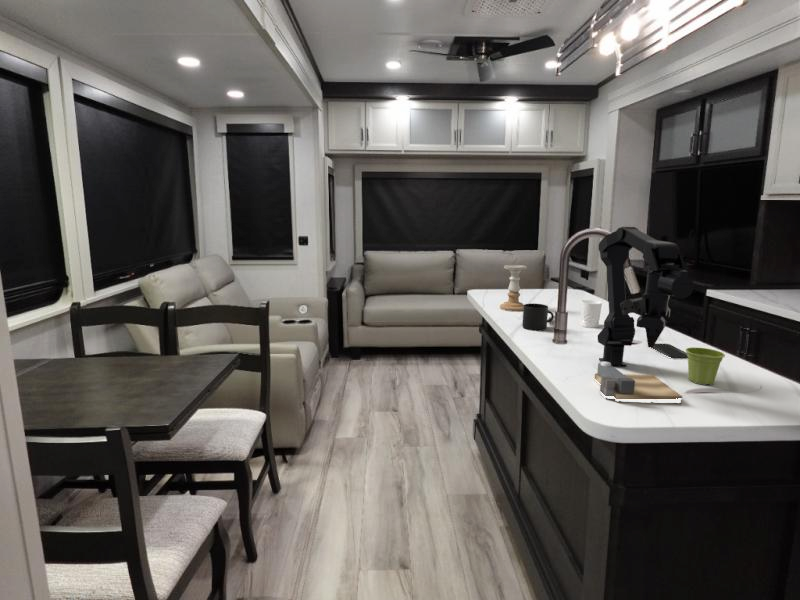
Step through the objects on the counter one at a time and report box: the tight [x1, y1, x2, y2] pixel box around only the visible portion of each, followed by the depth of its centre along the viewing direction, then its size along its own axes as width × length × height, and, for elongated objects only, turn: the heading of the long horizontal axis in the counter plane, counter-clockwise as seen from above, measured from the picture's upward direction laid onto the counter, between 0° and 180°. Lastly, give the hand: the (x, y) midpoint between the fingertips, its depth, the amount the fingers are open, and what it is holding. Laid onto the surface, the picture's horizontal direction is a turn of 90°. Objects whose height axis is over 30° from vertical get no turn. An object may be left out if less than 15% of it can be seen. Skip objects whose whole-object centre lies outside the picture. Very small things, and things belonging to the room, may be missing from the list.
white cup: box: [580, 299, 603, 329], centre depth 203 cm, size 8×8×10 cm
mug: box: [522, 303, 554, 332], centre depth 199 cm, size 9×12×9 cm
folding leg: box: [596, 361, 635, 394], centre depth 132 cm, size 15×3×4 cm, turn 1°
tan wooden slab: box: [594, 373, 683, 399], centre depth 133 cm, size 16×18×5 cm
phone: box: [651, 343, 688, 359], centre depth 169 cm, size 8×1×15 cm
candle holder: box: [499, 264, 528, 312], centre depth 235 cm, size 12×12×20 cm
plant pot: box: [685, 346, 726, 385], centre depth 140 cm, size 9×9×9 cm
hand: (650, 347), depth 136 cm, fingers closed
